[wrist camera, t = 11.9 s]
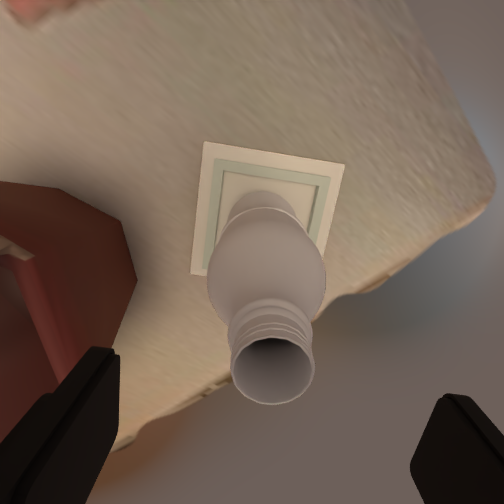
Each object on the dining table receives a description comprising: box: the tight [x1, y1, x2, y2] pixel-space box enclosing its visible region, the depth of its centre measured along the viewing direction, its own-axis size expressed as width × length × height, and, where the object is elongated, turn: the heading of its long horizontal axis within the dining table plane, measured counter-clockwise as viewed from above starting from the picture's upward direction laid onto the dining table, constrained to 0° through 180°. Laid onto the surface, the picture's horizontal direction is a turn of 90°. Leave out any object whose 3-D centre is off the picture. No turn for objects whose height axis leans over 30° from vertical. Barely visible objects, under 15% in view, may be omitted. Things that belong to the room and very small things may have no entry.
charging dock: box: [190, 141, 345, 276], centre depth 35 cm, size 15×15×2 cm
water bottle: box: [207, 191, 326, 405], centre depth 23 cm, size 7×7×25 cm
